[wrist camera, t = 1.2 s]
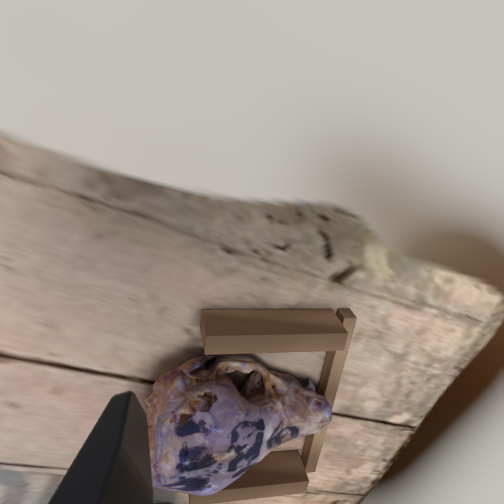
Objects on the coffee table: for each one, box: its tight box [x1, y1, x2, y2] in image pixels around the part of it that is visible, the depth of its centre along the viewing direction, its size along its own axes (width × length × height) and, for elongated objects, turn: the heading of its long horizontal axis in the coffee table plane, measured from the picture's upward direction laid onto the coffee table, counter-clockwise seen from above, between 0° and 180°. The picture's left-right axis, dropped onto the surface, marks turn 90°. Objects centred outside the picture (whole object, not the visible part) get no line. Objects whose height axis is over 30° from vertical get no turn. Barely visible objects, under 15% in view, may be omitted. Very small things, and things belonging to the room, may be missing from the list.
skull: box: [144, 355, 332, 496], centre depth 25 cm, size 12×8×6 cm, turn 71°
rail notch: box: [189, 309, 357, 504], centre depth 27 cm, size 13×9×2 cm
